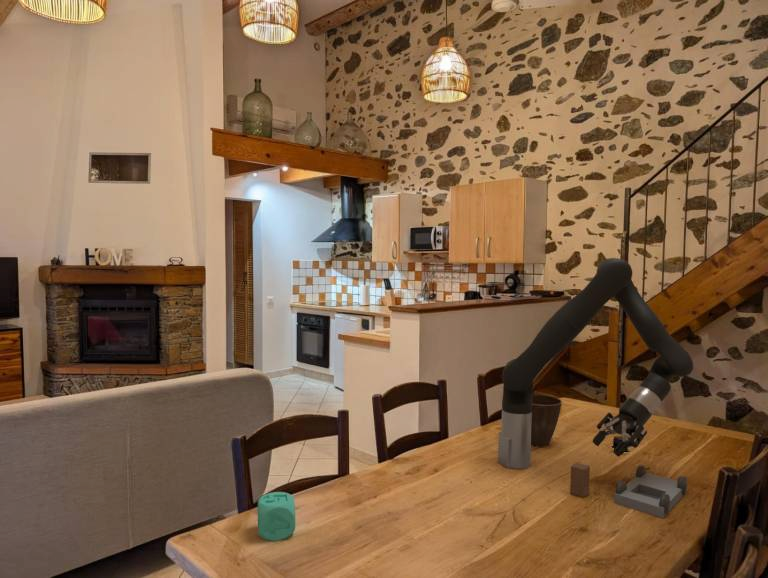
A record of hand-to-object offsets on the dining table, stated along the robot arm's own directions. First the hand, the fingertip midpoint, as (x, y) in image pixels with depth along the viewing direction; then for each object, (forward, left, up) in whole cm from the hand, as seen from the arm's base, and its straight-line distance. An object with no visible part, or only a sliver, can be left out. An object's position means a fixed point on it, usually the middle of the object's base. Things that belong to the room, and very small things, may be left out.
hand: (605, 449), depth 149 cm
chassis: (+10, -7, -12) cm, 17 cm away
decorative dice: (-91, 0, -12) cm, 92 cm away
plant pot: (+4, +39, -12) cm, 41 cm away
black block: (+29, +27, -13) cm, 41 cm away
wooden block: (-8, 0, -12) cm, 14 cm away
